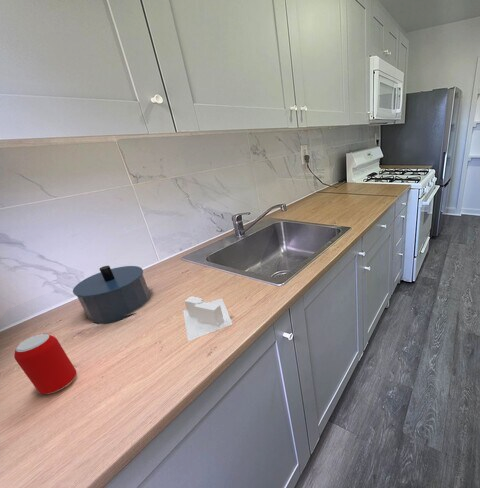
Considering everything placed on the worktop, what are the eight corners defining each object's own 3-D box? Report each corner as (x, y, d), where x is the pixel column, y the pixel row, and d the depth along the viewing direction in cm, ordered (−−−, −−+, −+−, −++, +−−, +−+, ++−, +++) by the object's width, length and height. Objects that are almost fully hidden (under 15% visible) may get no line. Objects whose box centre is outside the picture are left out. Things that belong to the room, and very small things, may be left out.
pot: (79, 330, 73) (63, 301, 70) (102, 299, 87) (91, 274, 83) (143, 315, 78) (132, 288, 74) (156, 288, 91) (147, 264, 88)
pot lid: (61, 305, 69) (52, 288, 67) (90, 275, 84) (83, 261, 82) (134, 290, 74) (127, 274, 72) (150, 264, 88) (145, 251, 86)
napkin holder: (233, 323, 72) (229, 306, 70) (188, 341, 67) (181, 323, 64) (221, 297, 84) (217, 282, 82) (182, 311, 79) (177, 294, 76)
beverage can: (78, 367, 61) (54, 326, 56) (78, 384, 57) (52, 342, 52) (42, 383, 58) (13, 341, 53) (39, 403, 53) (6, 359, 48)
